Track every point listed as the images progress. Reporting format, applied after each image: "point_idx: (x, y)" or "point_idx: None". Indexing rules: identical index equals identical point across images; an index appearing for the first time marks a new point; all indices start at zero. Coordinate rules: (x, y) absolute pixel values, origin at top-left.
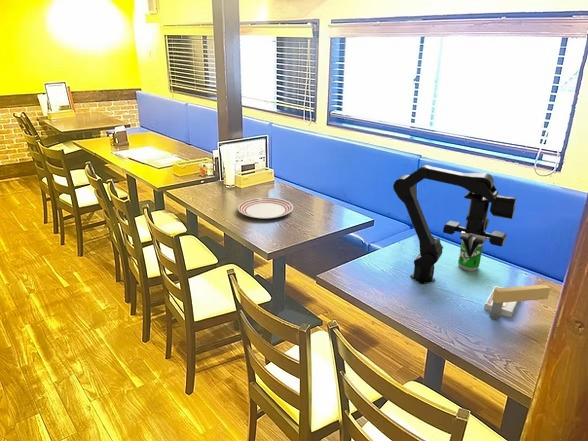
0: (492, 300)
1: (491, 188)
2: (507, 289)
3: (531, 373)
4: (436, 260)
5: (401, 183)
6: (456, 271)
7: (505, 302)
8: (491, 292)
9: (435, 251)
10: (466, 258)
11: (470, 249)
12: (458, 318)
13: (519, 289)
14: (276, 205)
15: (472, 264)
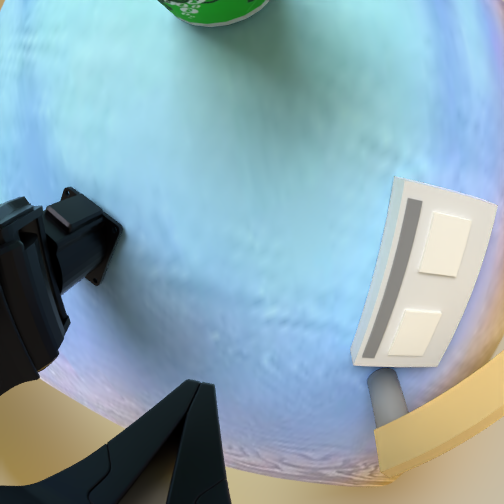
0: (384, 333)
1: None
2: (430, 456)
3: None
4: (56, 345)
5: None
6: (177, 64)
7: (431, 328)
8: (386, 267)
9: (17, 380)
10: (187, 2)
11: (172, 466)
12: (274, 416)
13: (477, 432)
14: None
15: (240, 6)
